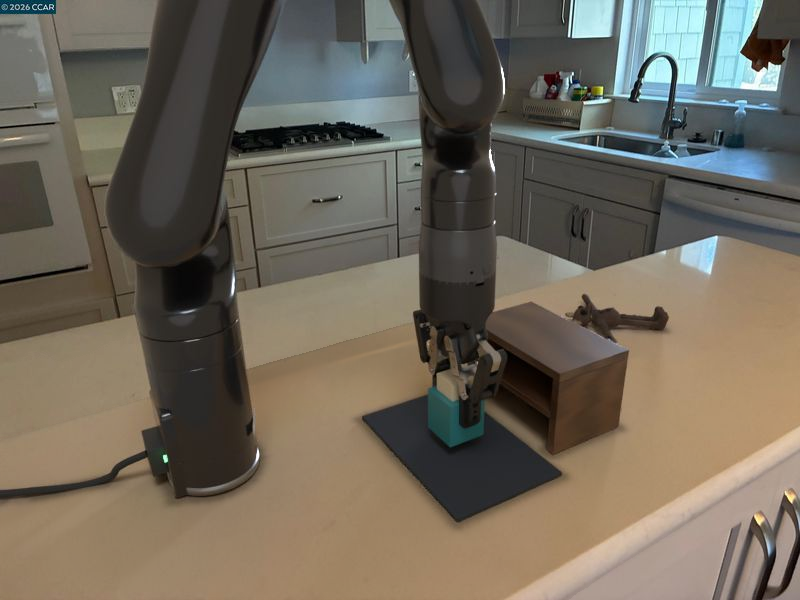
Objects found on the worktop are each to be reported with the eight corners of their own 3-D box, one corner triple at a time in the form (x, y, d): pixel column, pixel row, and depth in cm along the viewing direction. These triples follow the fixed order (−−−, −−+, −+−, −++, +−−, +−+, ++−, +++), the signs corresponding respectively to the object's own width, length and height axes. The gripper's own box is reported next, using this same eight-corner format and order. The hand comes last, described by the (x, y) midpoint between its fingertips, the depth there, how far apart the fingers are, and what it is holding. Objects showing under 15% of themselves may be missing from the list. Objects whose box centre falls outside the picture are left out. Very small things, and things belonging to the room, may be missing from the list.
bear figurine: (689, 334, 85) (584, 325, 85) (681, 361, 87) (578, 353, 87) (646, 286, 102) (559, 279, 102) (640, 310, 103) (554, 302, 103)
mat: (457, 522, 57) (457, 519, 57) (361, 418, 73) (361, 415, 73) (562, 475, 63) (562, 472, 63) (452, 388, 79) (452, 386, 79)
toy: (450, 447, 65) (450, 390, 62) (427, 427, 68) (427, 372, 66) (483, 434, 67) (485, 378, 64) (460, 415, 70) (461, 361, 68)
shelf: (552, 455, 66) (560, 374, 62) (466, 389, 79) (468, 318, 75) (618, 427, 71) (629, 349, 67) (526, 368, 83) (531, 301, 80)
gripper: (388, 253, 64) (393, 394, 71) (468, 297, 53) (465, 460, 59) (448, 240, 67) (447, 376, 74) (536, 279, 56) (525, 436, 63)
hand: (455, 413), depth 67 cm, fingers closed on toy, 4 cm apart
